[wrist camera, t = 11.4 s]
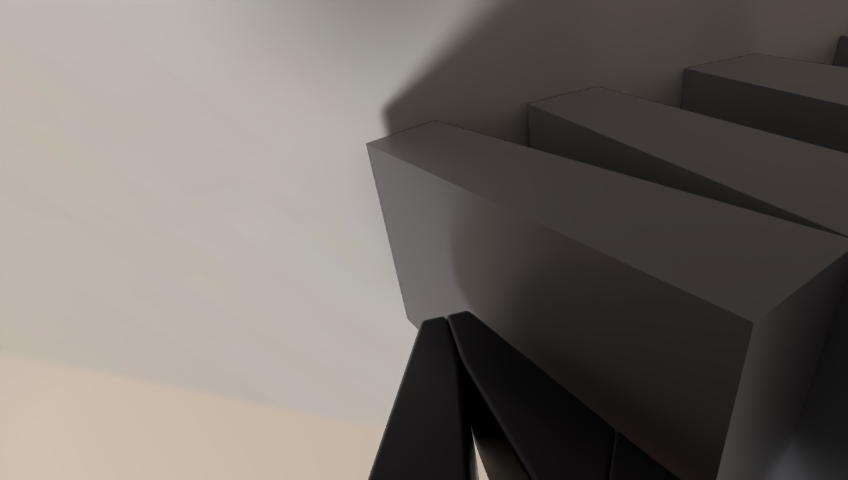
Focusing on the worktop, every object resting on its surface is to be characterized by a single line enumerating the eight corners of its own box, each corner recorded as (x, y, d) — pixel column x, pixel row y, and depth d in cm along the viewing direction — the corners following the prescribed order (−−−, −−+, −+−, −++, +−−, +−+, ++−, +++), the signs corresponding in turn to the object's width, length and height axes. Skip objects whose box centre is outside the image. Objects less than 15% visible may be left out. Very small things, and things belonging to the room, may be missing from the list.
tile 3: (754, 53, 11) (1428, 156, 4) (723, 231, 14) (1116, 483, 7) (685, 68, 11) (1252, 198, 4) (666, 244, 14) (1001, 513, 7)
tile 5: (434, 120, 11) (860, 241, 5) (461, 290, 13) (762, 523, 7) (365, 143, 10) (753, 323, 4) (407, 318, 13) (686, 603, 6)
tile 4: (596, 86, 11) (1117, 226, 4) (593, 261, 13) (916, 530, 7) (527, 103, 11) (960, 281, 4) (537, 278, 13) (812, 577, 6)
